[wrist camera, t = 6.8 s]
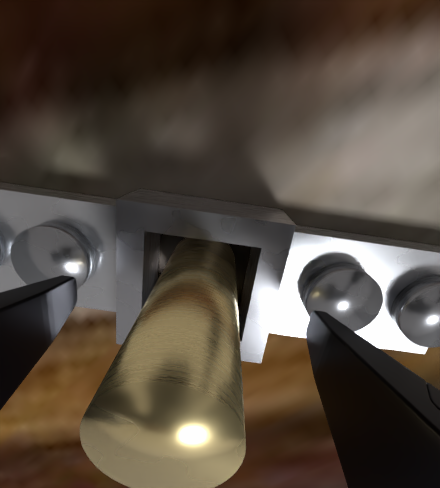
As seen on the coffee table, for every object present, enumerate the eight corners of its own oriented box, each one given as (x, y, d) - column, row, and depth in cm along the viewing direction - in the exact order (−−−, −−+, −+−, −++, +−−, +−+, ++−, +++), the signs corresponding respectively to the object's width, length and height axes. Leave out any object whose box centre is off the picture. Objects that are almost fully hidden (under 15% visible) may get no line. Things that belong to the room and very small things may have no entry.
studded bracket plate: (469, 236, 11) (532, 259, 9) (412, 347, 13) (451, 388, 11) (-57, 159, 11) (-136, 162, 8) (-28, 286, 13) (-85, 316, 11)
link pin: (240, 237, 12) (260, 396, 4) (230, 294, 13) (231, 502, 5) (174, 228, 12) (75, 371, 4) (170, 285, 13) (83, 485, 5)
